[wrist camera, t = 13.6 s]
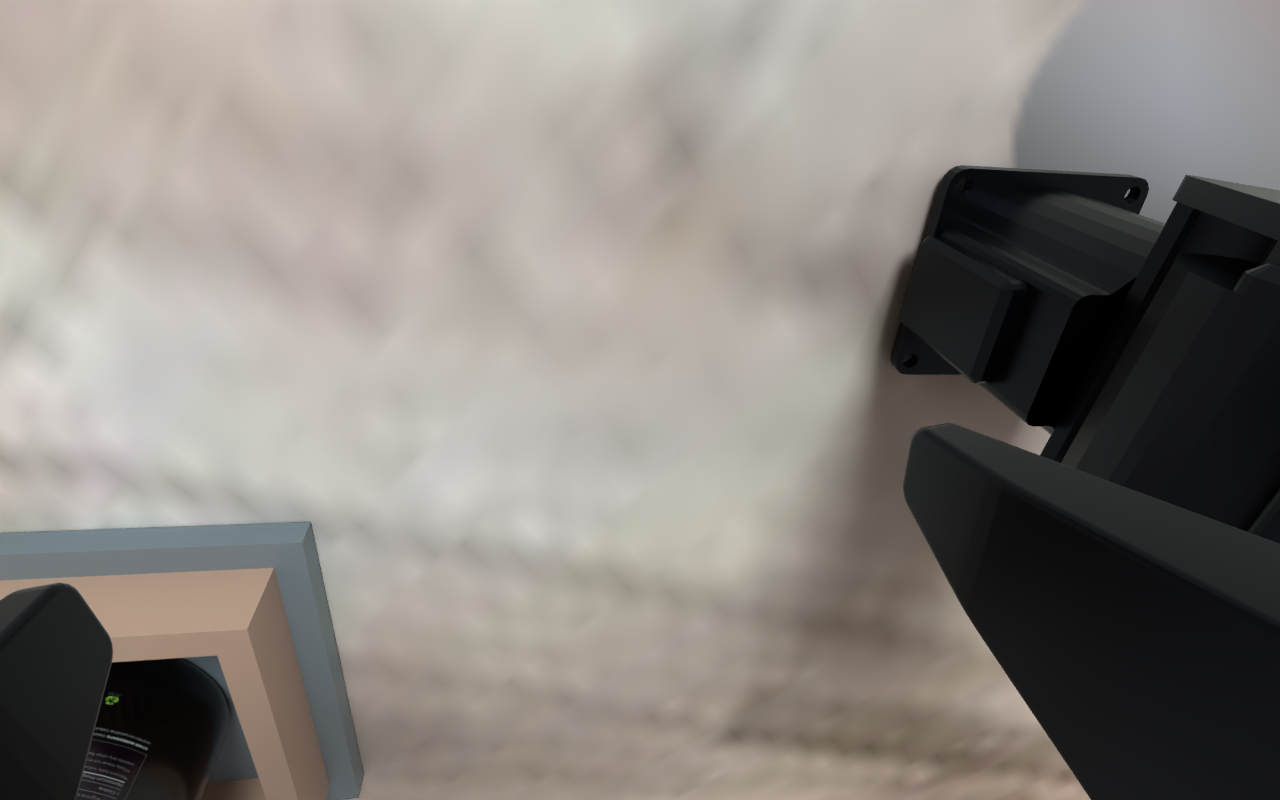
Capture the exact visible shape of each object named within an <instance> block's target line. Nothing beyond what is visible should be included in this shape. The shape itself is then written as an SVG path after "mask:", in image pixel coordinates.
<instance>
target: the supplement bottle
mask: <svg viewBox="0 0 1280 800" xmlns="http://www.w3.org/2000/svg"><path fill="white" fill-rule="evenodd" d="M228 726H229V709H228V705H227V702H226V699H225V697H224V695H223V693H222V691H221V690H220V688H219V687H218V685H217V684H216V683H215V682H214V681H213V679H211V678H210V677H209V676H208V675H207V674H206V673H205V672H204V671H202V670H201V669H200V668H198V667H197V666H195V665H193V664H192V663H190V662H188V661H186V660H184V659H182V658H171V659H156V660H141V661H126V662H112V664H111V668H110V672H109V676H108V680H107V683H106V687H105V691H104V695H103V699H102V703H101V706H100V710H99V714H98V718H97V722H96V726H95V730H94V733H93V737H92V741H91V745H90V749H89V753H88V756H87V760H86V764H85V768H84V772H83V776H82V779H81V783H80V787H79V791H78V794H77V797H76V800H202V798H203V795H204V793H205V790H206V788H207V785H208V782H209V780H210V777H211V775H212V772H213V770H214V767H215V764H216V762H217V759H218V756H219V753H220V751H221V748H222V745H223V743H224V740H225V737H226V734H227V731H228Z"/></svg>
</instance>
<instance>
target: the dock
mask: <svg viewBox="0 0 1280 800" xmlns="http://www.w3.org/2000/svg"><path fill="white" fill-rule="evenodd" d="M52 583H67V584H69V585H71V586H73V587H75V588H76V589H77V590H78V591H79V593H80V594H81V596H82V597H83V598H84V600H85V601H86V603H87V604H88V606H89V607H90V608H91V610H92V611H93V613H94V614H95V615H96V617H97V618H98V620H99V621H100V623H101V624H102V625H103V627H104V628H105V630H106V631H107V633H108V634H109V636H110V639H111V642H112V646H113V659H112V662H126V661H141V660H156V659H171V658H182V659H184V660H186V661H188V662H190V663H192V664H193V665H195V666H197V667H198V668H200V669H201V670H202V671H204V672H205V673H206V674H207V675H208V676H209V677H210V678H211V679H213V681H214V682H215V683H216V684H217V685H218V687H219V688H220V690H221V691H222V693H223V695H224V697H225V699H226V702H227V705H228V709H229V726H228V731H227V734H226V737H225V740H224V743H223V745H222V748H221V751H220V753H219V756H218V759H217V762H216V764H215V767H214V770H213V772H212V775H211V777H210V780H209V782H208V785H207V788H206V790H205V793H204V795H203V798H202V800H342V799H352V798H359V795H360V790H361V785H362V780H363V775H364V774H363V769H362V764H361V760H360V755H359V750H358V745H357V741H356V736H355V731H354V726H353V721H352V717H351V712H350V707H349V702H348V698H347V693H346V688H345V683H344V679H343V674H342V669H341V664H340V660H339V655H338V650H337V645H336V641H335V636H334V631H333V626H332V622H331V617H330V612H329V607H328V602H327V598H326V593H325V588H324V583H323V579H322V574H321V569H320V564H319V560H318V555H317V550H316V545H315V541H314V536H313V531H312V526H311V522H293V523H265V524H238V525H210V526H182V527H154V528H127V529H99V530H71V531H43V532H16V533H0V600H1V599H3V598H4V597H5V596H7V595H9V594H10V593H12V592H15V591H17V590H20V589H24V588H30V587H35V586H41V585H47V584H52Z"/></svg>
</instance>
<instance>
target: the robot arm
mask: <svg viewBox="0 0 1280 800" xmlns="http://www.w3.org/2000/svg"><path fill="white" fill-rule="evenodd" d="M963 178H965V185H964V187H963V188H962V189H961V190H960V191H959V192H956V186H957V184H958V182H959V181H960V180H961V179H963ZM1129 189H1130V193H1129V194H1128V196H1127V197H1126V198H1124V196H1125V194H1126V192H1127V191H1128V190H1129ZM1148 190H1149V188H1148V183H1147V181H1146V180H1145V179H1142V178H1138V177H1135V176H1132V175H1123V174H1104V173H1088V172H1070V171H1052V170H1034V169H1016V168H998V167H981V166H963V165H962V166H956V167H954V168H952V169H951V170H949V171H948V172H947V173H946V174H945V176H944V177H943V180H942V182H941V184H940V188H939V191H938V195H937V198H936V202H935V205H934V208H933V212H932V215H931V219H930V222H929V226H928V229H927V233H926V236H925V239H924V240H923V242H922V243H921V244H920V247H919V251H918V254H917V258H916V261H915V265H914V268H913V272H912V275H911V278H910V282H909V285H908V289H907V292H906V296H905V299H904V303H903V306H902V310H901V313H900V320H901V322H900V325H899V329H898V332H897V336H896V339H895V342H894V346H893V349H892V353H891V359H890V361H891V363H892V365H893V366H894V367H895V368H896V369H897V370H898V371H899V372H900V373H902V374H963V375H964V376H965V377H966V378H967V379H969V380H970V381H971V382H973V383H979V384H980V385H981V386H982V387H984V388H985V389H986V390H987V391H988V392H990V393H991V394H992V395H993V396H994V397H996V398H997V399H998V400H999V401H1000V402H1002V403H1003V404H1004V405H1005V406H1006V407H1008V408H1009V409H1010V410H1011V411H1012V412H1014V413H1015V414H1016V415H1017V416H1018V417H1020V418H1021V419H1022V420H1023V421H1024V422H1026V423H1027V424H1028V425H1031V426H1041V427H1042V428H1043V429H1045V430H1046V431H1047V432H1048V433H1050V434H1051V436H1050V438H1049V440H1048V442H1047V444H1046V445H1045V447H1044V449H1043V451H1042V453H1041V455H1037V454H1034V453H1031V452H1029V451H1026V450H1023V449H1020V448H1018V447H1015V446H1012V445H1010V444H1007V443H1004V442H1001V441H999V440H996V439H993V438H990V437H988V436H985V435H982V434H980V433H977V432H974V431H971V430H969V429H966V428H963V427H960V426H958V425H955V424H948V423H947V424H940V425H935V426H929V427H923V428H920V429H919V430H917V431H916V432H915V433H914V435H913V436H912V439H911V444H910V449H909V455H908V460H907V465H906V471H905V476H904V481H903V491H904V497H905V500H906V502H907V505H908V507H909V509H910V511H911V512H912V514H913V516H914V518H915V520H916V522H917V524H918V526H919V527H920V529H921V531H922V533H923V535H924V537H925V539H926V541H927V542H928V544H929V546H930V548H931V550H932V552H933V554H934V556H935V557H936V559H937V561H938V563H939V565H940V567H941V569H942V571H943V572H944V574H945V576H946V578H947V580H948V582H949V584H950V586H951V587H952V589H953V591H954V593H955V595H956V597H957V598H958V600H959V602H960V604H961V605H962V607H963V609H964V611H965V612H966V614H967V615H968V617H969V619H970V620H971V622H972V623H973V625H974V626H975V628H976V629H977V631H978V633H979V634H980V636H981V637H982V639H983V640H984V641H985V643H986V644H987V646H988V647H989V649H990V650H991V652H992V653H993V655H994V656H995V658H996V659H997V661H998V662H999V664H1000V665H1001V667H1002V668H1003V670H1004V671H1005V673H1006V674H1007V676H1008V677H1009V679H1010V680H1011V682H1012V683H1013V685H1014V686H1015V688H1016V689H1017V690H1018V692H1019V693H1020V695H1021V696H1022V698H1023V699H1024V701H1025V702H1026V704H1027V705H1028V707H1029V708H1030V710H1031V711H1032V713H1033V714H1034V716H1035V717H1036V719H1037V720H1038V722H1039V723H1040V725H1041V726H1042V728H1043V729H1044V731H1045V732H1046V734H1047V735H1048V737H1049V738H1050V740H1051V741H1052V742H1053V744H1054V745H1055V747H1056V748H1057V750H1058V751H1059V753H1060V754H1061V756H1062V757H1063V759H1064V760H1065V762H1066V763H1067V765H1068V766H1069V768H1070V769H1071V771H1072V772H1073V774H1074V775H1075V777H1076V778H1077V780H1078V781H1079V783H1080V784H1081V786H1082V787H1083V789H1084V790H1085V791H1086V793H1087V794H1088V796H1089V797H1090V799H1091V800H1280V191H1279V190H1273V189H1267V188H1261V187H1255V186H1250V185H1244V184H1238V183H1232V182H1226V181H1220V180H1215V179H1209V178H1203V177H1197V176H1191V175H1186V176H1185V178H1184V179H1183V181H1182V183H1181V185H1180V187H1179V189H1178V191H1177V192H1176V194H1175V196H1174V198H1173V200H1174V201H1176V202H1177V203H1176V206H1175V207H1174V209H1173V211H1172V213H1171V215H1170V216H1169V218H1168V220H1167V222H1166V224H1165V223H1162V222H1159V221H1156V220H1153V219H1150V218H1147V217H1144V216H1141V215H1139V212H1140V210H1141V208H1142V206H1143V204H1144V201H1145V199H1146V197H1147V194H1148ZM909 354H912V356H911V358H910V359H909V360H908V361H906V362H903V361H904V359H905V357H906V356H908V355H909ZM112 659H113V646H112V642H111V639H110V636H109V634H108V633H107V631H106V630H105V628H104V627H103V625H102V624H101V623H100V621H99V620H98V618H97V617H96V615H95V614H94V613H93V611H92V610H91V608H90V607H89V606H88V604H87V603H86V601H85V600H84V598H83V597H82V596H81V594H80V593H79V591H78V590H77V589H76V588H75V587H73V586H71V585H69V584H67V583H52V584H47V585H41V586H35V587H30V588H24V589H20V590H17V591H15V592H12V593H10V594H9V595H7V596H5V597H4V598H3V599H1V600H0V800H76V797H77V794H78V791H79V787H80V783H81V779H82V776H83V772H84V768H85V764H86V760H87V756H88V753H89V749H90V745H91V741H92V737H93V733H94V730H95V726H96V722H97V718H98V714H99V710H100V706H101V703H102V699H103V695H104V691H105V687H106V683H107V680H108V676H109V672H110V668H111V664H112Z"/></svg>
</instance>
